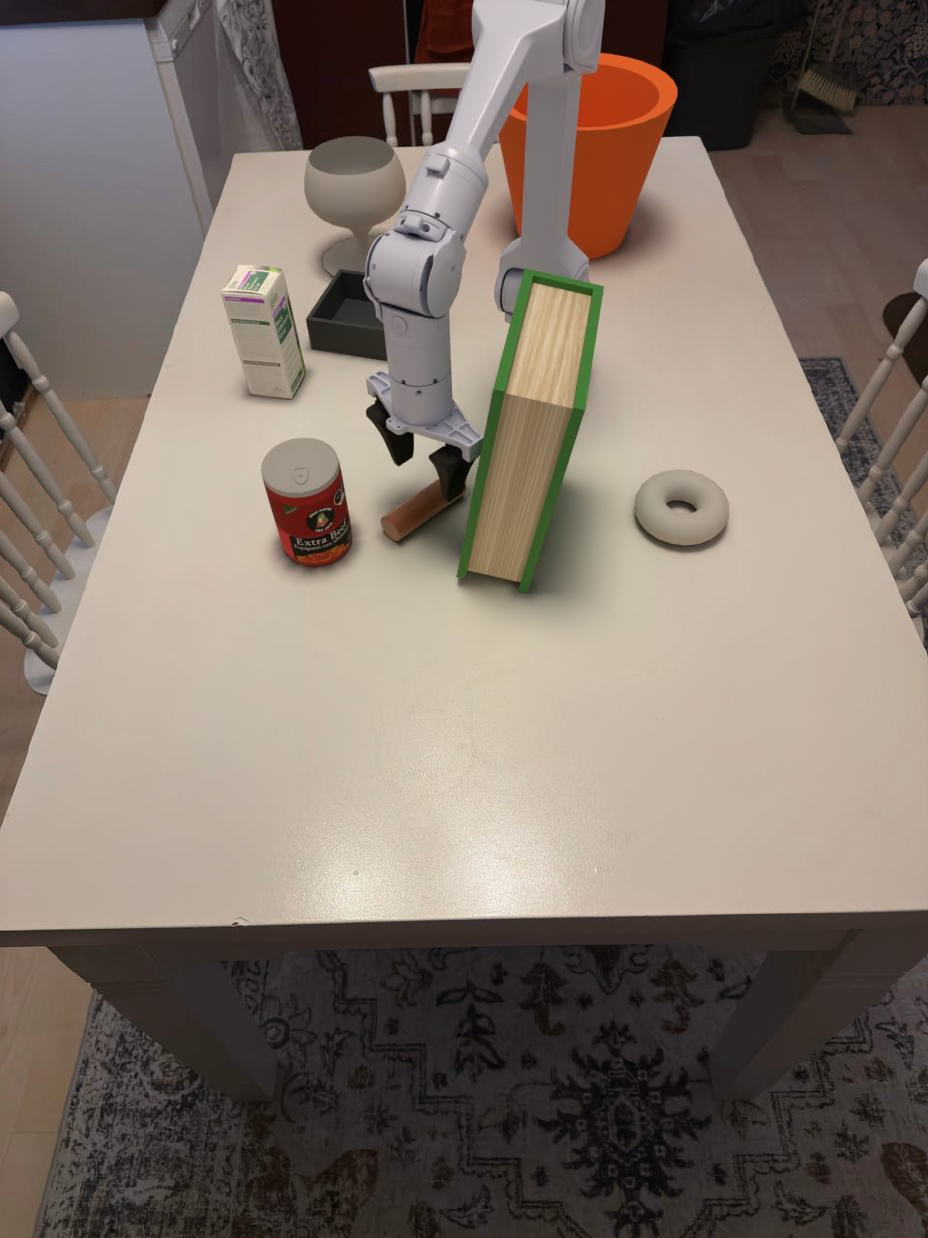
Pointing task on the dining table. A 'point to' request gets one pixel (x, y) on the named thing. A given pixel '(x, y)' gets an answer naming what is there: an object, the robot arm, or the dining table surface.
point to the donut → (681, 525)
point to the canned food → (308, 500)
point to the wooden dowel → (415, 511)
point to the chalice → (353, 193)
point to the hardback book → (531, 425)
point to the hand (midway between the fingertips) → (428, 478)
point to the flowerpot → (601, 148)
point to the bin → (346, 319)
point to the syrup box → (264, 330)
